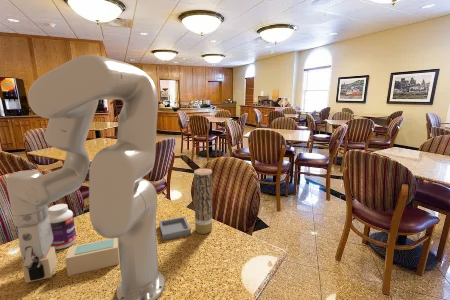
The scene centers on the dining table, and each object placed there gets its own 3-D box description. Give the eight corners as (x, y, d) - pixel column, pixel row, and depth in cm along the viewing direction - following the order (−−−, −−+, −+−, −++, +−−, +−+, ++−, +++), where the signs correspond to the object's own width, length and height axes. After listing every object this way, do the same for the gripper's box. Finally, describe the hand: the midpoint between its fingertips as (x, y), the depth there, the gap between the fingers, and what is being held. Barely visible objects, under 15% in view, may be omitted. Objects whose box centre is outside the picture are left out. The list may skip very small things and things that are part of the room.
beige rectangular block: (119, 264, 74) (117, 246, 72) (67, 276, 68) (64, 258, 67) (119, 252, 79) (118, 236, 78) (71, 263, 74) (68, 246, 73)
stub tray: (190, 234, 90) (190, 229, 90) (163, 240, 86) (162, 234, 86) (184, 221, 100) (184, 216, 99) (159, 226, 96) (159, 221, 95)
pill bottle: (73, 248, 81) (67, 210, 78) (46, 252, 79) (39, 214, 76) (79, 235, 89) (74, 200, 86) (55, 239, 86) (49, 203, 83)
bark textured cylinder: (214, 232, 92) (214, 172, 86) (197, 236, 89) (196, 174, 84) (209, 224, 98) (208, 167, 93) (193, 227, 95) (192, 169, 90)
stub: (51, 277, 67) (48, 258, 66) (25, 282, 65) (21, 263, 63) (57, 263, 72) (54, 246, 71) (33, 268, 70) (30, 250, 69)
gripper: (36, 228, 58) (47, 288, 62) (56, 200, 74) (64, 250, 78) (-2, 234, 55) (12, 297, 59) (27, 204, 71) (36, 255, 75)
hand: (41, 270), depth 68 cm, fingers closed on stub, 6 cm apart
